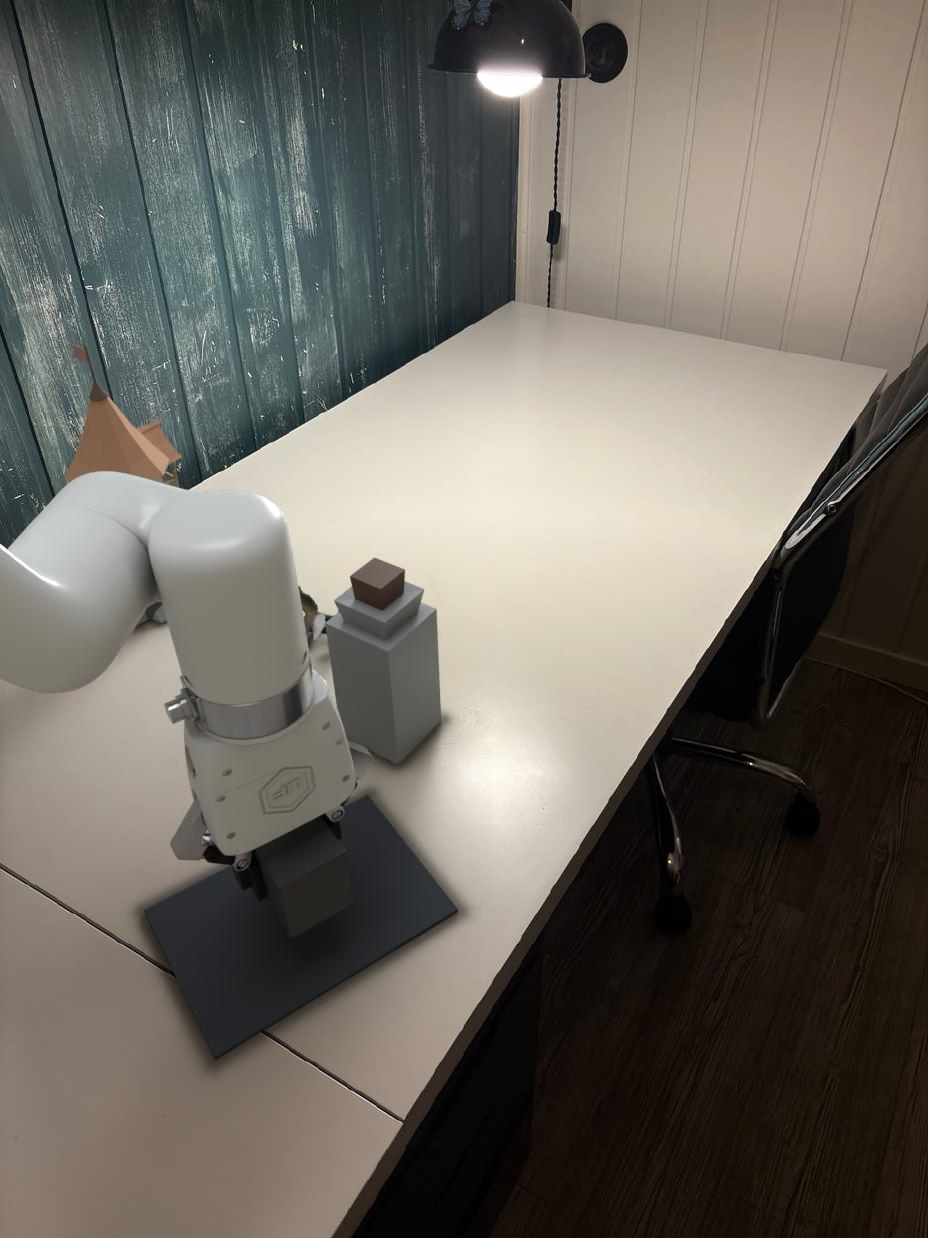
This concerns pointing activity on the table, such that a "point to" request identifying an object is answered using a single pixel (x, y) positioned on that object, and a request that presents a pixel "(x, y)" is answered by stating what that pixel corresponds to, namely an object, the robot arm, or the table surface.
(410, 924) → the rubber mat
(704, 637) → the table surface
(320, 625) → the eagle figurine
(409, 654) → the perfume bottle
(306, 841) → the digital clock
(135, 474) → the model tower
